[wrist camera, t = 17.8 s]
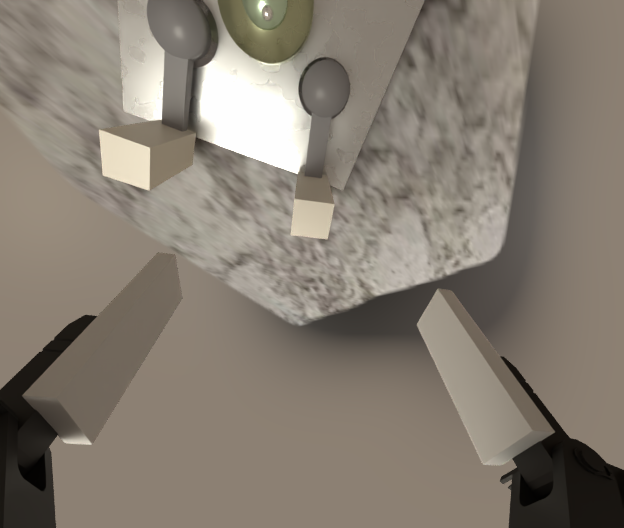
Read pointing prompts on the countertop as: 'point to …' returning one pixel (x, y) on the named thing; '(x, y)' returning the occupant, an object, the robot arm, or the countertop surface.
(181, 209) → the countertop surface
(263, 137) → the level plate
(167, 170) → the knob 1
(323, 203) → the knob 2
